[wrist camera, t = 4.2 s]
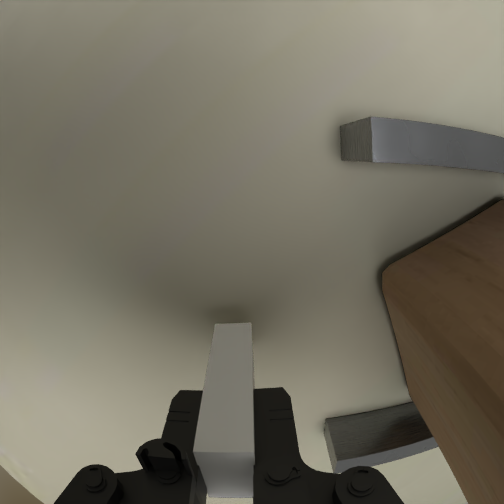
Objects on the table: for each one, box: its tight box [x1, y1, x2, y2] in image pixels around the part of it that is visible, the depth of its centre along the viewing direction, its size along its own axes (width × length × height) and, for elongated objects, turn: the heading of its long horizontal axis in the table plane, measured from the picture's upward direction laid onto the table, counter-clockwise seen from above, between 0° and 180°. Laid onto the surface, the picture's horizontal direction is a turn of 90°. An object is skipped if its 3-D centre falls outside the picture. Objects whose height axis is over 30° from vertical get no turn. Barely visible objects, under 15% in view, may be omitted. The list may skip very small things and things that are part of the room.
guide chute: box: [324, 117, 504, 474], centre depth 13 cm, size 18×19×4 cm
